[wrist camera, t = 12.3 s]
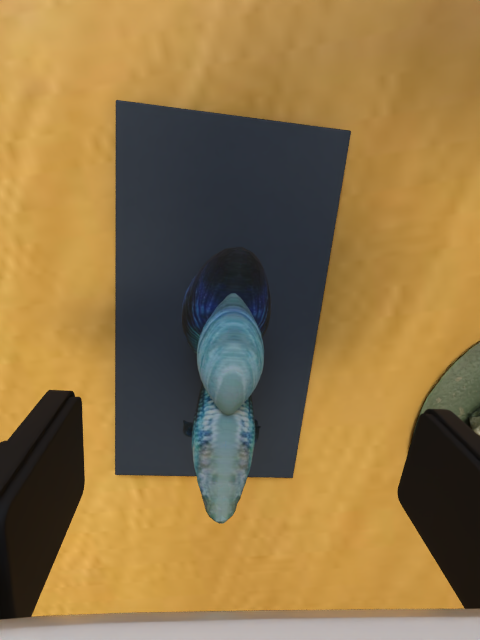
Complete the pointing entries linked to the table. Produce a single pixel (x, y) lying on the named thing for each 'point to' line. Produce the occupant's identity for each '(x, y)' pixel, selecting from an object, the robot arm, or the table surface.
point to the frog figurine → (460, 390)
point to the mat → (199, 246)
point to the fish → (226, 371)
